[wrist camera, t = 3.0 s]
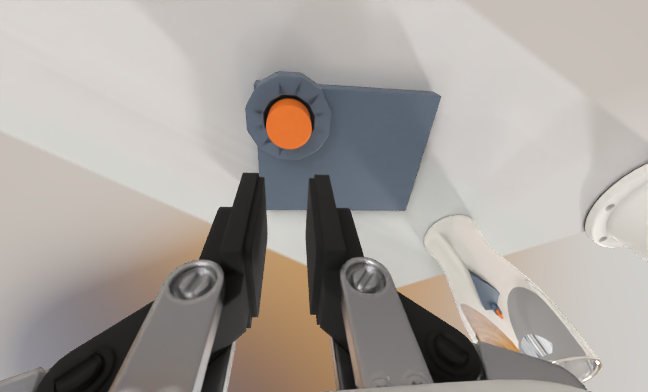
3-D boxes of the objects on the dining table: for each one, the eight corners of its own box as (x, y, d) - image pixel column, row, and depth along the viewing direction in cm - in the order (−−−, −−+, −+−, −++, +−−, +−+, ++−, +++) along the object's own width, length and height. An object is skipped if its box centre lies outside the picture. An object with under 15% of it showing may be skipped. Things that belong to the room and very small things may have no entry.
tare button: (311, 99, 18) (313, 106, 17) (309, 140, 20) (310, 150, 19) (267, 96, 18) (265, 103, 17) (268, 139, 20) (266, 148, 18)
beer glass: (414, 224, 30) (502, 375, 17) (477, 202, 29) (618, 344, 16) (424, 262, 33) (502, 408, 21) (480, 244, 32) (595, 385, 20)
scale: (437, 79, 21) (456, 87, 19) (400, 202, 28) (411, 221, 25) (248, 65, 19) (242, 73, 17) (258, 201, 26) (254, 221, 23)
